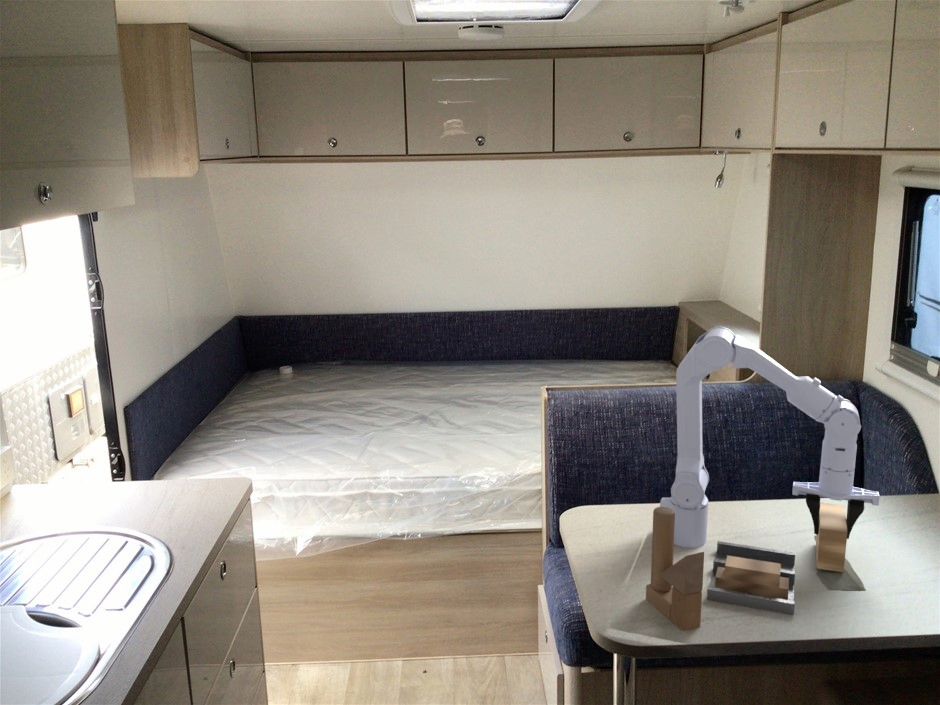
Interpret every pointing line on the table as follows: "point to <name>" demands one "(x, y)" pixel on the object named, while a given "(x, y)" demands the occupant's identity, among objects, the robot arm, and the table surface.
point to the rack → (746, 598)
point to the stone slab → (841, 578)
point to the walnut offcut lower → (752, 586)
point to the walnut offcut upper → (752, 571)
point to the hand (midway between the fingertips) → (831, 534)
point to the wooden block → (674, 575)
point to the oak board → (831, 537)
